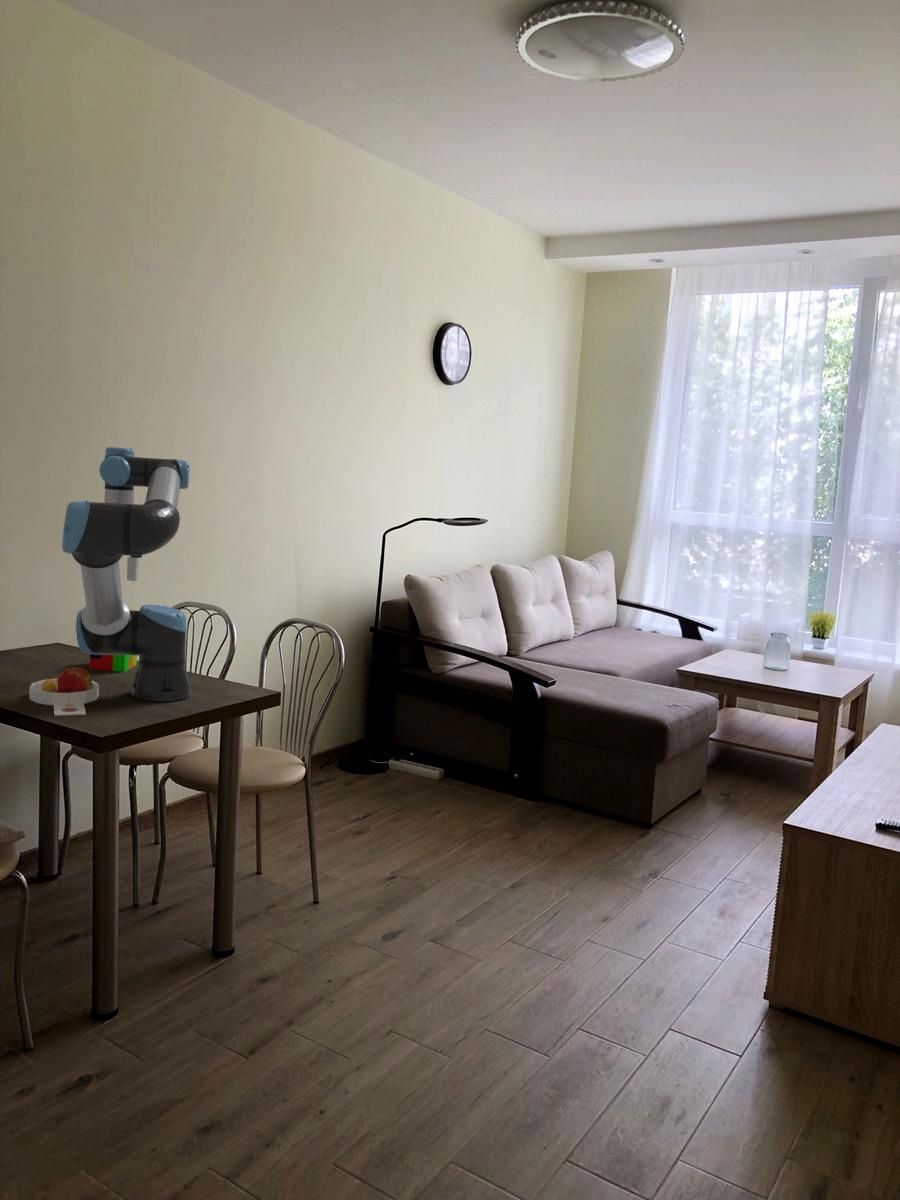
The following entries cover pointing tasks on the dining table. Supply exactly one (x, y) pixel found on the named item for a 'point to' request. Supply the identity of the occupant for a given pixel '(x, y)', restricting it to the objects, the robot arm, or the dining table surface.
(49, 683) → the orange egg
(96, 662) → the puzzle toy
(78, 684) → the apple
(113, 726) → the dining table surface
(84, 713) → the card
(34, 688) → the ring
